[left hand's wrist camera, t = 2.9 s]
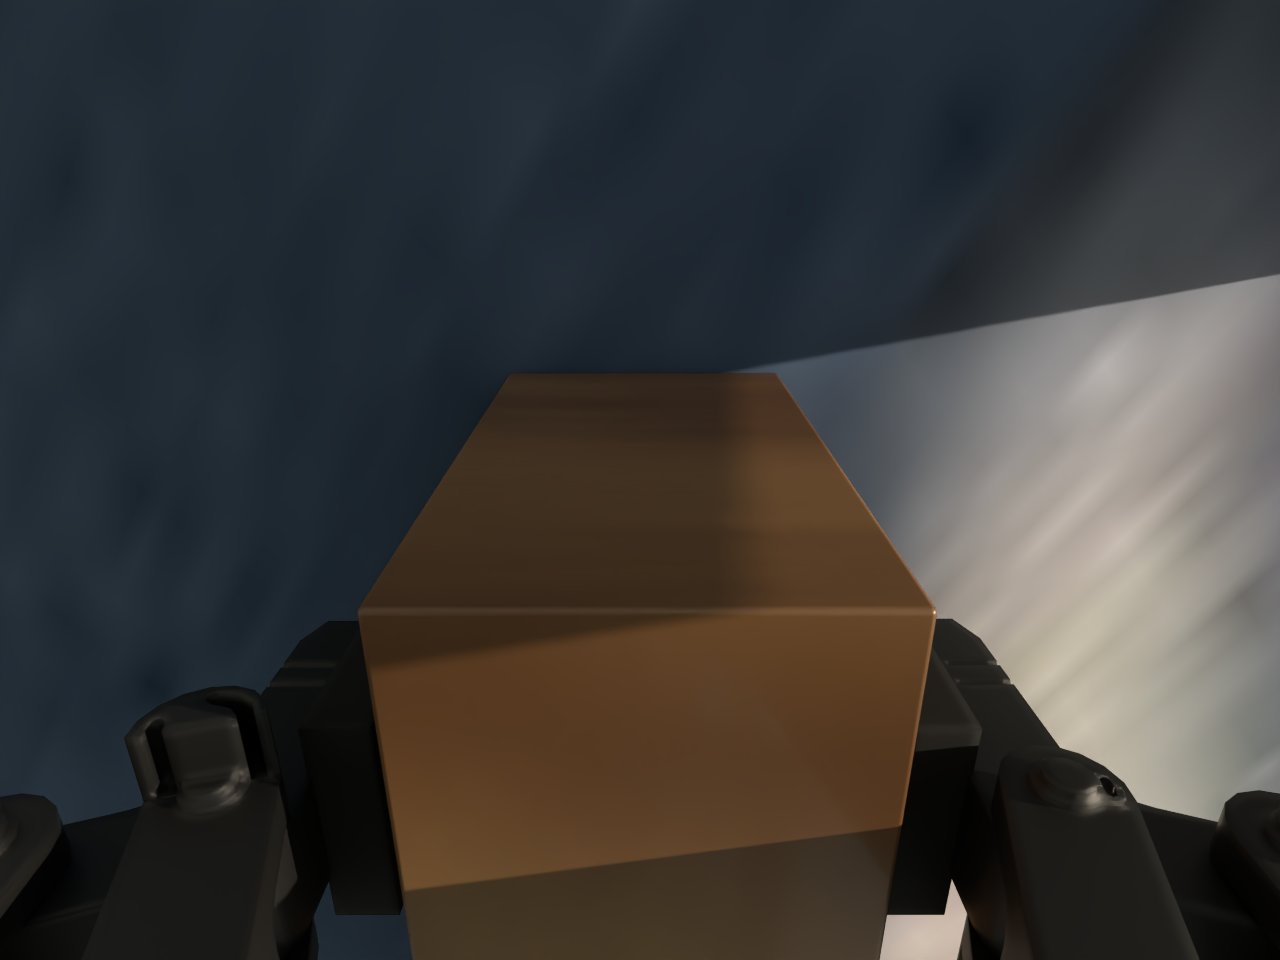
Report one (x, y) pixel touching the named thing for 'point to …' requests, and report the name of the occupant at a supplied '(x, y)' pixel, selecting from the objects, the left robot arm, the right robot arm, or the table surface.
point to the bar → (646, 682)
